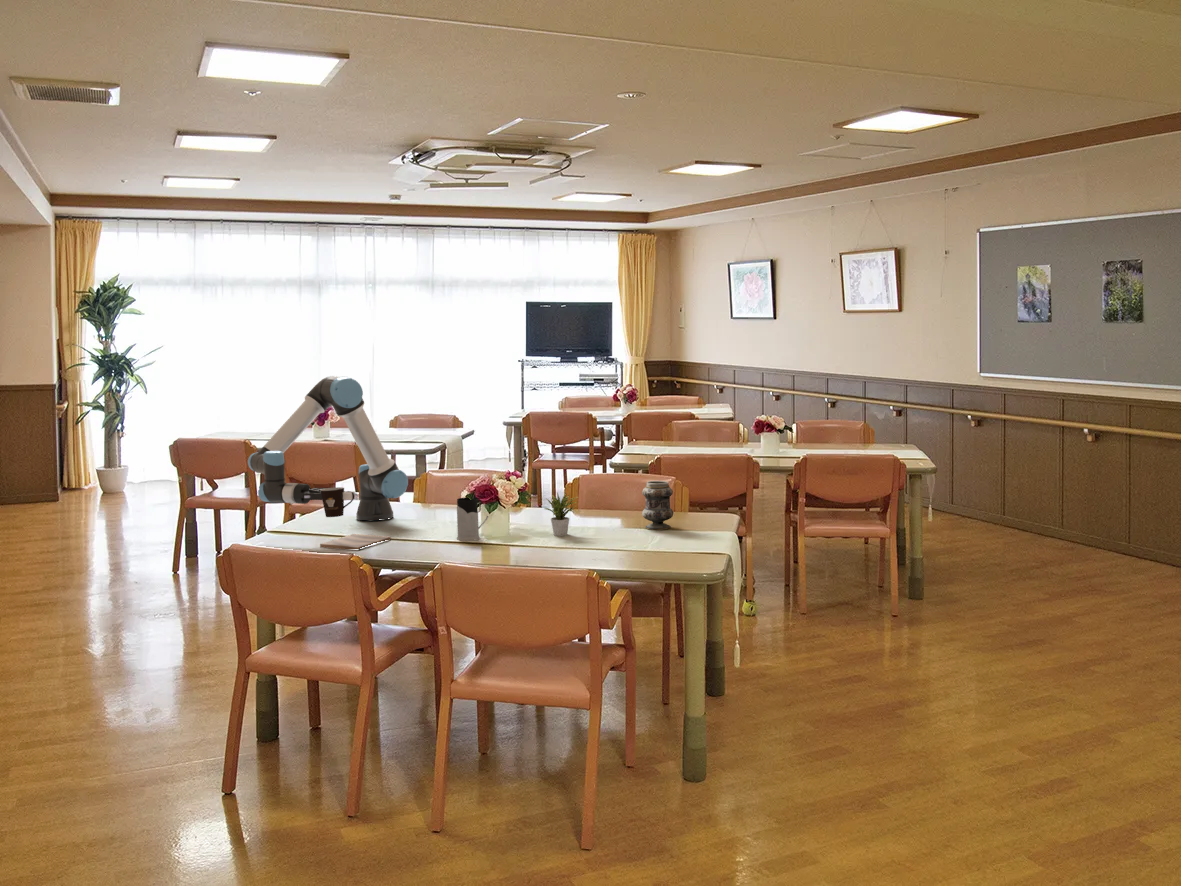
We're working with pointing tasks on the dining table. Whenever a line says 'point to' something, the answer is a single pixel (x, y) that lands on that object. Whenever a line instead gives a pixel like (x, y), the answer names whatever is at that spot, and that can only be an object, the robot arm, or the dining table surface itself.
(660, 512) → the apothecary jar
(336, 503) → the coffee mug
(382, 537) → the spiral notebook
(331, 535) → the dining table surface
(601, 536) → the dining table surface
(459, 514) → the gray pitcher
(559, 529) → the house plant
